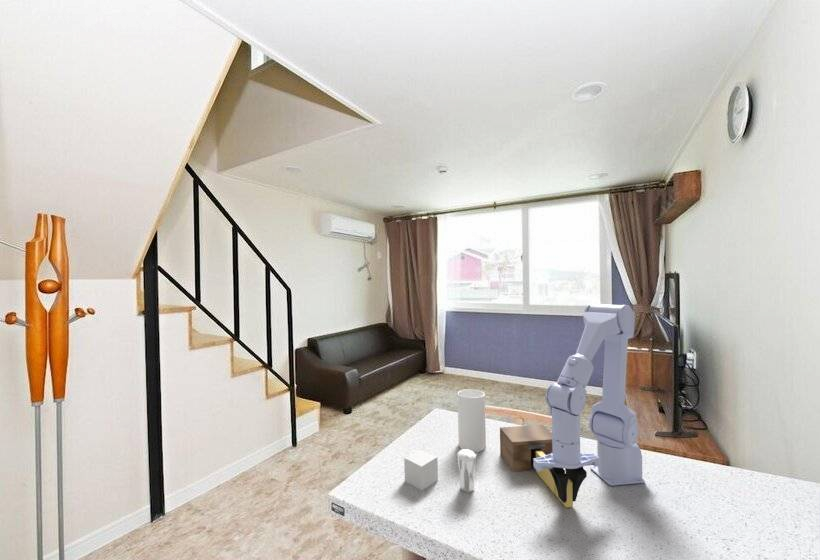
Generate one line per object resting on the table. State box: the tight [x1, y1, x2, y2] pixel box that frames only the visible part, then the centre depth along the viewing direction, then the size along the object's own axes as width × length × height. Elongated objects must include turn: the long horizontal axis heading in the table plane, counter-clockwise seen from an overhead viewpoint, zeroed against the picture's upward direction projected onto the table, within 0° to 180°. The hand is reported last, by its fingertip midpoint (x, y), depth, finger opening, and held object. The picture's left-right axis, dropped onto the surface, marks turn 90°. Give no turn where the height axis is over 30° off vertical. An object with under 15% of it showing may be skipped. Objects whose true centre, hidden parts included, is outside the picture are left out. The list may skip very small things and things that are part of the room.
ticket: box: [535, 451, 574, 508], centre depth 83 cm, size 2×14×6 cm, turn 6°
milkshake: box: [456, 449, 480, 493], centre depth 84 cm, size 4×5×10 cm
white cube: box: [403, 449, 439, 492], centre depth 87 cm, size 6×6×6 cm
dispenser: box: [499, 424, 552, 473], centre depth 95 cm, size 13×10×8 cm
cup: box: [457, 388, 487, 453], centre depth 105 cm, size 8×8×16 cm
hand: (567, 499), depth 77 cm, fingers closed on ticket, 2 cm apart
